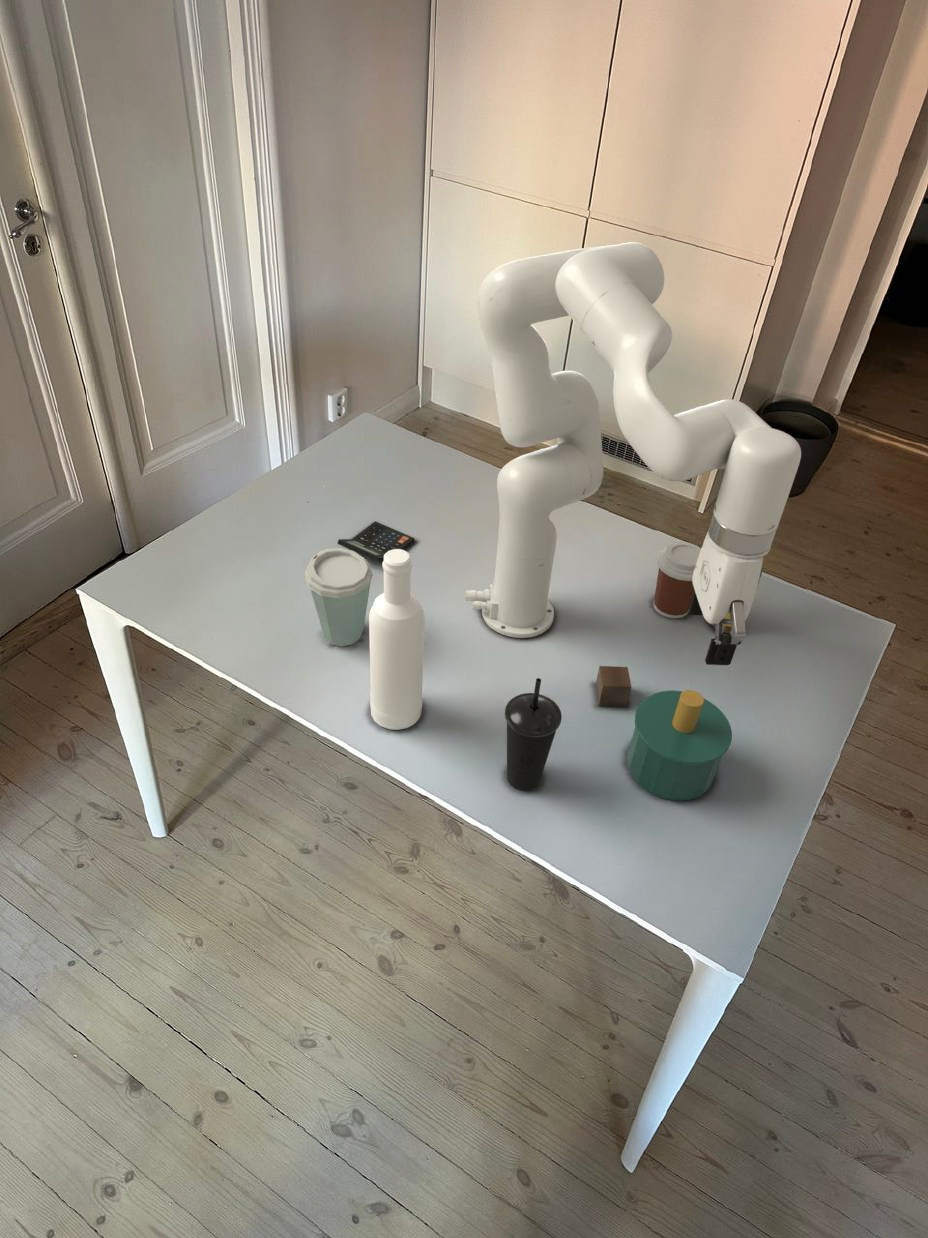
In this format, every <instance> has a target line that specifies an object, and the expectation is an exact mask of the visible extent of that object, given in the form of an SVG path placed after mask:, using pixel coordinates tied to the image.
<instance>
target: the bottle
mask: <svg viewBox="0 0 928 1238" xmlns="http://www.w3.org/2000/svg"><path fill="white" fill-rule="evenodd" d="M412 568H413V563H412V556H411V554H410V553H409V552H408V551H406V550H401V549H393V550H390V551H388V552H387V553H385V555H384V561H383V562H382V569H383V592H382V593H380V594H379V595H378V596H377V597H375V599H374V602H373V604H372V606H371V608H370V609H369V610H370V611H369V613H368V627H369V629H368V632H369V634H368V635H369V679H370V680H369V681H370V682H369V684H370V695H369V706H370V707H369V708H370V717H372V719H373V721H374V722H375V723H376V724H378V726H380V727H382V728H385V729H388V730H395V731H396V730H397V731H398V730H405V729H409V728H410V727H411V726H412V727H413V726H414V725H415V724H416V723H418V721H419V720H420V717H421V715H422V708H423V680H424V679H423V678H424V651H425V649H424V648H425V624H426V623H425V622H426V621H425V620H426V619H425V611H424V609H423V606H422V604H421V602H420V600H419V598H418V597H417V596H416V595H414V594H413V593H411V579H412V578H411V576H412V575H411V574H412Z"/></svg>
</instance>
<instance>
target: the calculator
mask: <svg viewBox="0 0 928 1238" xmlns="http://www.w3.org/2000/svg"><path fill="white" fill-rule="evenodd" d="M413 543H415V537H412V536H410V535H408V534H405V533H403V532H401V531H399V530H396V529H394V528H391V526H388V525H385V524H382V523H381V522H378V521H373V522H372V523H371V524H370V525H368V526H367V527H365V528H364V529H363V530H362V531H360V532H359V533H357V534H356V535H354V536H353V537H352V538H348V539H347V538H342V539H341V538H338V540H337V545H340V546H341V547H343V548H345V549H347V550H352V551H354V552H356V553H357V554H359V555H360V556H362V557H364V558H365V557H366V558H368V559H370V560H372V561H374V562H376V563H383V561H384V555H385V553H387V552H388V551H390V550H393V549H401V550H404V551H406V550H407V549H408V548H409V547H410V546H411V545H412V544H413Z"/></svg>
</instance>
